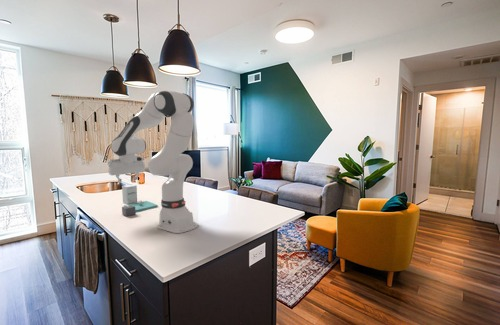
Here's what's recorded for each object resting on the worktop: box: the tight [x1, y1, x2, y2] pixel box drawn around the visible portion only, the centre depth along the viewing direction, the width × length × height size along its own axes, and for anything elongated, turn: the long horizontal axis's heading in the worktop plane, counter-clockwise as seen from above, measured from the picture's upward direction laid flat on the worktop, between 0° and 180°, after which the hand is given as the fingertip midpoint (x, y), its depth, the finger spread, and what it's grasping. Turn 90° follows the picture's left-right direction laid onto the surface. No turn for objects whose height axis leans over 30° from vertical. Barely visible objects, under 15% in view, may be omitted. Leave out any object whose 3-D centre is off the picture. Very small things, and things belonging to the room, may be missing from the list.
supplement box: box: [121, 184, 138, 205], centre depth 171 cm, size 7×7×13 cm
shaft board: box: [123, 200, 159, 213], centre depth 161 cm, size 16×16×4 cm
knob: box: [121, 204, 136, 217], centre depth 145 cm, size 6×6×5 cm
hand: (128, 180), depth 143 cm, fingers open, 8 cm apart
